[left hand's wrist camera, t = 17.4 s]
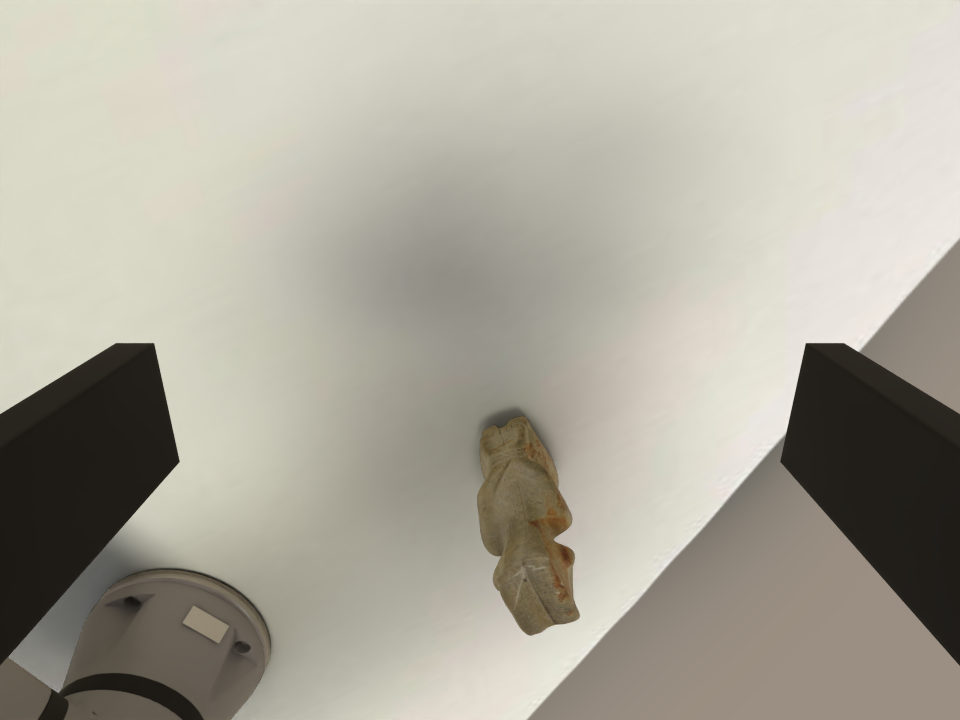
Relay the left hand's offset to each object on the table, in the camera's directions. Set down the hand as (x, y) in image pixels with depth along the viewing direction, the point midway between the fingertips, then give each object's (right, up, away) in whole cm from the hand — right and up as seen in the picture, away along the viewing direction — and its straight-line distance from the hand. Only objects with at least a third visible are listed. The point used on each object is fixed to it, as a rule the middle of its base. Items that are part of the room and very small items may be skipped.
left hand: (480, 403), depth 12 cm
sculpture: (+3, -6, +33) cm, 34 cm away
